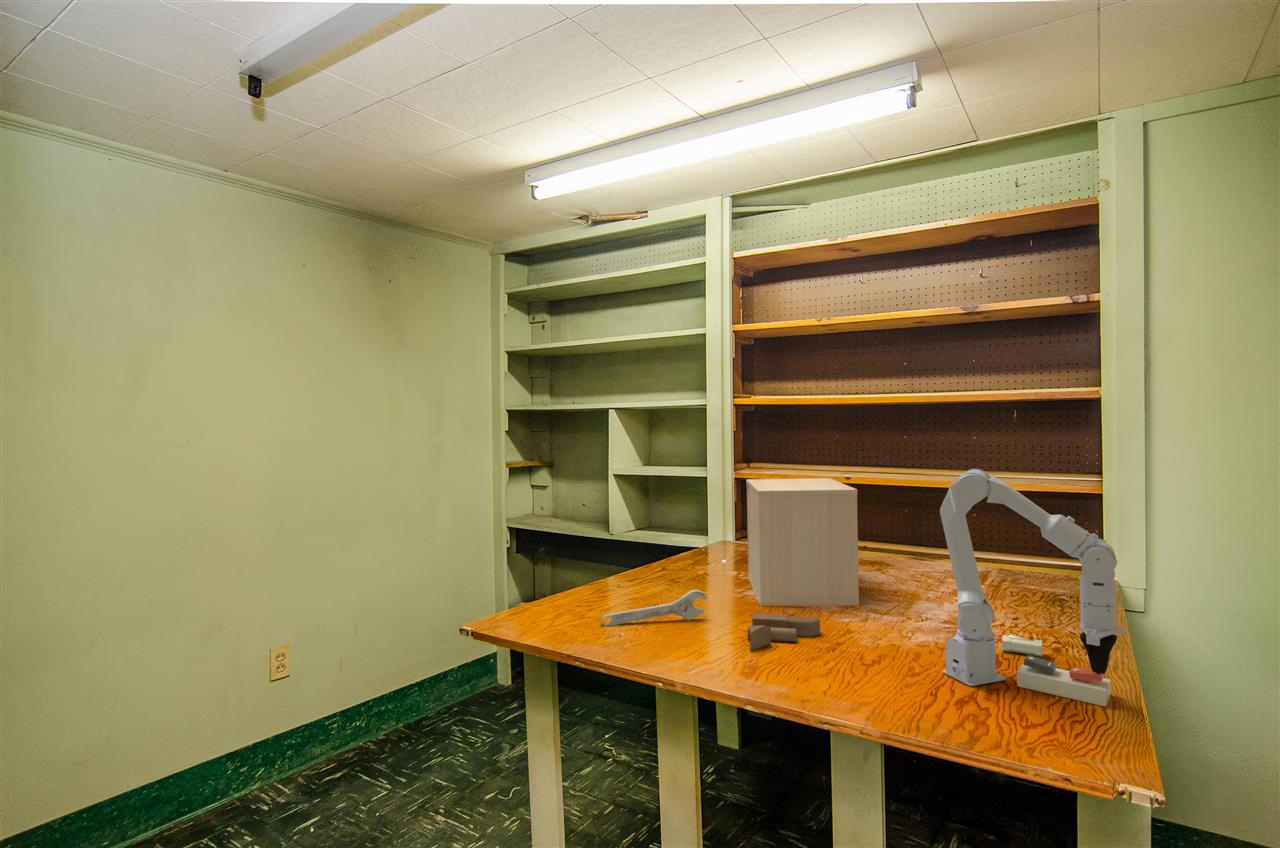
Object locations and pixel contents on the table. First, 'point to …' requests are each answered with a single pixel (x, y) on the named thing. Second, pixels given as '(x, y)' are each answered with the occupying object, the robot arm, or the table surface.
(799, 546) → the beige wooden block
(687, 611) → the wrench
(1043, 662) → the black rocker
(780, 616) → the wooden block set
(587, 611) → the table surface
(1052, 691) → the rocker switch panel
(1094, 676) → the red rocker
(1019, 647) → the pipe fitting
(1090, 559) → the robot arm
